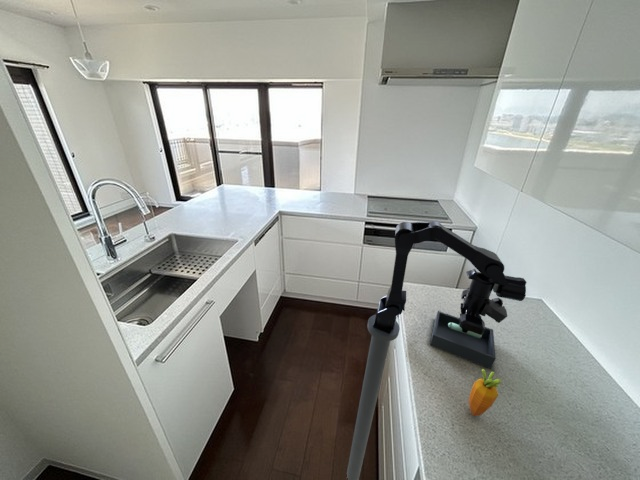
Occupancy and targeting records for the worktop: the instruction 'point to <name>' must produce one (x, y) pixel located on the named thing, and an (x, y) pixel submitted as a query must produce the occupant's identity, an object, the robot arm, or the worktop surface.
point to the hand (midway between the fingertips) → (464, 329)
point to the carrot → (483, 394)
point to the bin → (463, 341)
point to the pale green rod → (458, 328)
